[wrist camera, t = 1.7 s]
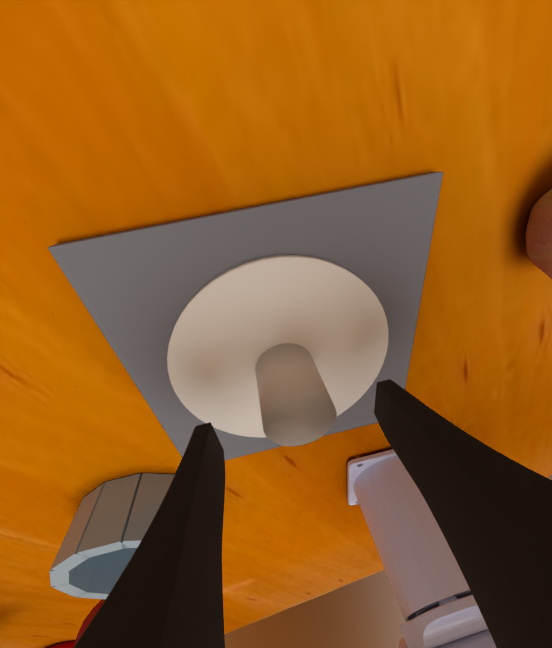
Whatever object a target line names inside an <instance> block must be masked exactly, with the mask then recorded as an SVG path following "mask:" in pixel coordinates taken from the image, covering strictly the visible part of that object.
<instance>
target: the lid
mask: <svg viewBox="0 0 552 648" xmlns="http://www.w3.org/2000/svg"><path fill="white" fill-rule="evenodd" d="M388 334H389V331H388V324H387V319H386V316H385V312H384V309H383V307H382V305H381V303H380V302H379V300H378V298H377V297H376V295H375V294H374V293H373V291H372V290H371V289H370V288H369V287H368V286H367V285H366V284H365V283H364V282H363V281H362V280H361V279H359V278H358V277H357V276H356V275H354V274H353V273H351V272H350V271H348V270H346V269H345V268H343V267H341V266H339V265H337V264H335V263H332V262H330V261H327V260H323V259H320V258H316V257H311V256H303V255H276V256H269V257H262V258H259V259H255V260H251V261H248V262H245V263H242V264H240V265H238V266H235V267H233V268H230V269H228V270H227V271H225V272H223V273H222V274H220V275H218V276H217V277H215V278H213V279H212V280H211V281H210V282H208V283H207V284H206V285H205V286H203V287H202V288H201V289H200V290H199V291H198V292H197V293H196V294H195V295H194V296H193V297H192V298H191V299H190V301H189V302H188V303H187V305H186V306H185V308H184V309H183V311H182V312H181V314H180V316H179V318H178V320H177V322H176V324H175V326H174V329H173V332H172V335H171V339H170V342H169V346H168V354H167V366H168V374H169V378H170V382H171V384H172V387H173V389H174V391H175V393H176V395H177V396H178V398H179V399H180V401H181V402H182V404H183V405H184V406H185V407H186V408H187V409H188V410H189V411H190V412H191V413H192V414H193V415H195V416H196V417H197V418H198V419H200V420H201V421H203V422H205V423H210V422H211V424H212V426H213V427H214V428H216V429H219V430H221V431H224V432H227V433H231V434H235V435H239V436H247V437H260V438H265V437H267V438H268V439H269V440H270V441H272V442H274V443H276V444H279V445H283V446H298V445H304V444H307V443H310V442H313V441H315V440H317V439H319V438H320V437H322V436H323V435H325V434H326V433H327V432H328V431H329V430H330V429H331V428H332V426H333V425H334V423H335V421H336V417H337V416H338V415H340V414H341V413H343V412H344V411H346V410H347V409H348V408H350V407H351V406H352V405H353V404H354V403H356V402H357V401H358V400H359V399H360V398H361V397H362V396H363V395H364V394H365V392H366V391H367V390H368V389H369V387H370V386H371V385H372V383H373V382H374V380H375V379H376V377H377V375H378V374H379V372H380V370H381V367H382V365H383V363H384V360H385V356H386V353H387V347H388Z"/></svg>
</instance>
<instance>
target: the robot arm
mask: <svg viewBox="0 0 552 648" xmlns="http://www.w3.org/2000/svg"><path fill="white" fill-rule="evenodd" d="M374 414H375V416H376V418H377V421H378V423H379V425H380V427H381V429H382V431H383V433H384V435H385V437H386V438H387V440H388V442H389V443H390V445H391V446H392V448H393V449H392V450H388V451H384V452H380V453H376V454H372V455H368V456H364V457H360V458H356V459H352V460H350V461H349V462H348V464H347V501H348V503H349V505H356V504H359V505H360V507H361V510H362V512H363V515H364V518H365V520H366V523H367V525H368V528H369V530H370V533H371V535H372V538H373V540H374V543H375V545H376V548H377V550H378V553H379V556H380V558H381V561H382V563H383V566H384V568H385V571H386V573H387V576H388V578H389V581H390V583H391V586H392V588H393V591H394V593H395V596H396V598H397V601H398V604H399V606H400V608H401V611H402V614H403V616H404V619H405V621H407V622H405V623H403V624H400V629H401V632H402V634H403V638H402V639H401V640H400V643H399V648H552V480H550V479H548V478H546V477H544V476H542V475H540V474H538V473H536V472H534V471H532V470H530V469H528V468H526V467H524V466H522V465H520V464H519V463H517V462H515V461H513V460H511V459H509V458H508V457H506V456H504V455H502V454H501V453H499V452H497V451H495V450H494V449H492V448H490V447H489V446H487V445H485V444H484V443H482V442H480V441H479V440H477V439H475V438H474V437H472V436H471V435H469V434H467V433H466V432H464V431H463V430H461V429H460V428H458V427H457V426H455V425H454V424H452V423H451V422H449V421H448V420H446V419H445V418H443V417H442V416H440V415H439V414H438V413H436V412H435V411H433V410H432V409H430V408H429V407H428V406H426V405H425V404H423V403H422V402H421V401H419V400H418V399H417V398H415V397H414V396H412V395H411V394H410V393H408V392H407V391H406V390H404V389H403V388H402V387H400V386H399V385H398V384H396V383H395V382H394V381H392V380H391V379H389V380H384V381H380V382H377V385H376V396H375V407H374ZM224 493H225V460H224V449H223V447H222V445H221V443H220V441H219V439H218V437H217V435H216V432H215V430H214V428H213V426H212V424H211V422H210V423H206V424H201V425H197V426H196V427H195V428H194V430H193V433H192V435H191V438H190V440H189V443H188V446H187V448H186V450H185V453H184V455H183V457H182V460H181V462H180V465H179V467H178V469H177V471H176V473H175V476H174V478H173V480H172V482H171V484H170V486H169V489H168V491H167V493H166V495H165V497H164V499H163V501H162V503H161V505H160V507H159V509H158V511H157V513H156V515H155V517H154V518H153V520H152V522H151V524H150V526H149V528H148V530H147V531H146V533H145V535H144V537H143V539H142V540H141V542H140V544H139V546H138V547H137V549H136V551H135V553H134V554H133V556H132V558H131V559H130V561H129V563H128V564H127V566H126V567H125V569H124V571H123V572H122V574H121V576H120V577H119V579H118V581H117V582H116V584H115V585H114V587H113V589H112V590H111V592H110V593H109V595H108V596H107V598H106V600H105V601H104V603H103V604H102V606H101V607H100V609H99V610H98V612H97V613H96V615H95V616H94V618H93V619H92V621H91V622H90V623H89V625H88V626H87V628H86V629H85V631H84V632H83V634H82V635H81V637H80V638H79V640H78V641H77V643H76V644H75V646H74V647H73V648H225V641H224V619H223V593H222V531H223V512H224Z"/></svg>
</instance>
